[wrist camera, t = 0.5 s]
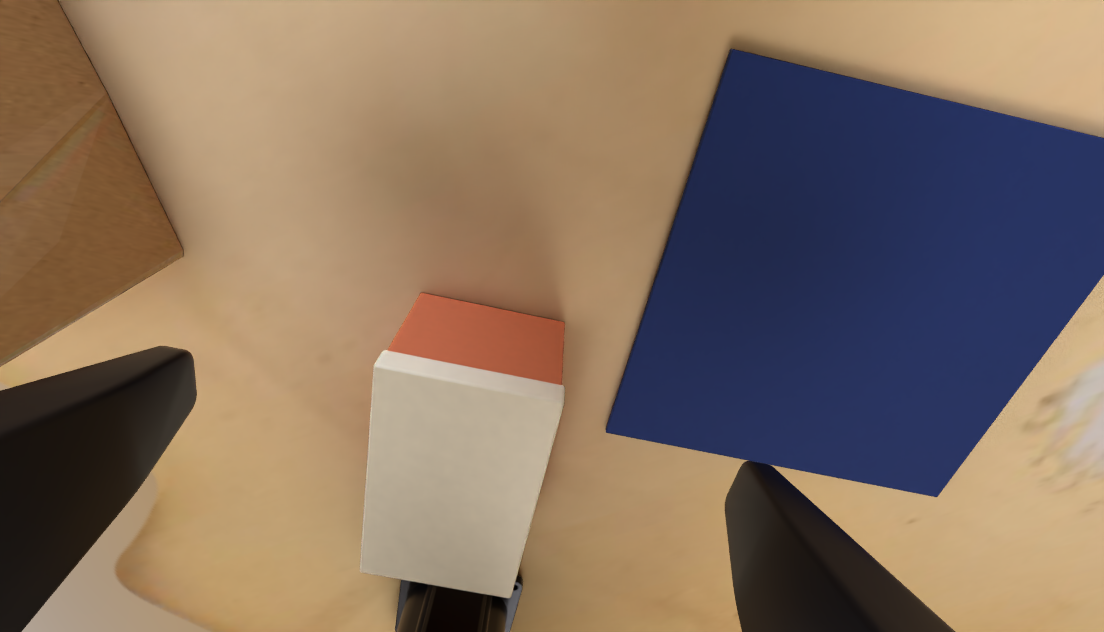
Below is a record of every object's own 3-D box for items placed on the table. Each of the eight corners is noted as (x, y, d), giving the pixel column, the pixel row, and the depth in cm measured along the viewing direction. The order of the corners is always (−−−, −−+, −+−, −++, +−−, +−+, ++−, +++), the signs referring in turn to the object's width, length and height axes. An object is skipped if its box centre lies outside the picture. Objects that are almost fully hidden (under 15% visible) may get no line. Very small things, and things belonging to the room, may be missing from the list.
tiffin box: (523, 495, 28) (510, 599, 23) (399, 472, 27) (358, 573, 22) (568, 320, 23) (565, 402, 18) (418, 289, 22) (372, 364, 17)
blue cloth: (933, 492, 26) (937, 497, 26) (605, 428, 25) (605, 432, 25) (1182, 157, 19) (1191, 158, 19) (730, 48, 18) (732, 48, 18)
